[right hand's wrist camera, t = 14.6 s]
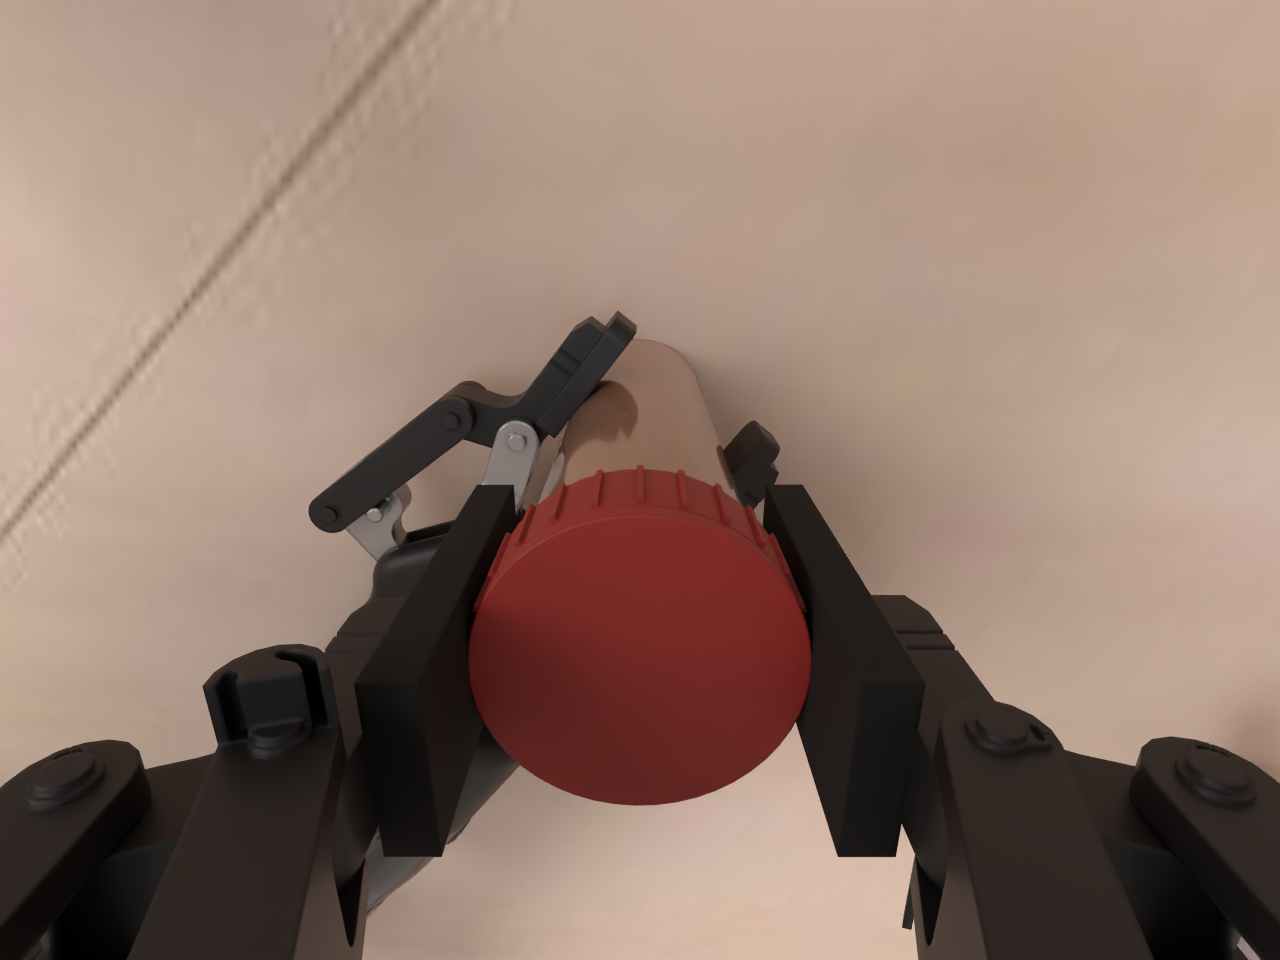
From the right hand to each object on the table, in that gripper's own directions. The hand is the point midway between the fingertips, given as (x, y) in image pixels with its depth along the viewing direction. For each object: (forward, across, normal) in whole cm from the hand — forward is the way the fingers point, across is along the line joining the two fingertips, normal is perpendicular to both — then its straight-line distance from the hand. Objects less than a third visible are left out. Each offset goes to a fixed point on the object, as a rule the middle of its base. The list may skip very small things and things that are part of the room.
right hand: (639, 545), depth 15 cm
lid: (-4, 0, 0) cm, 4 cm away
